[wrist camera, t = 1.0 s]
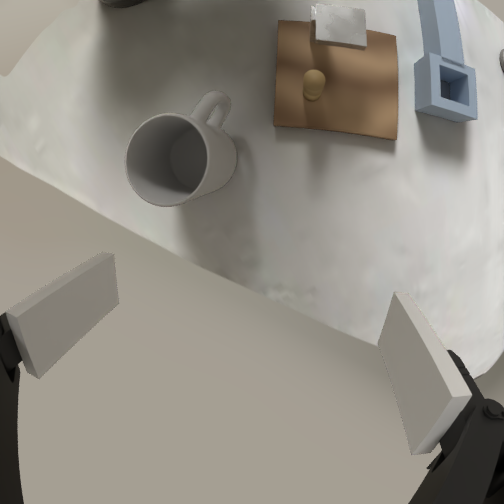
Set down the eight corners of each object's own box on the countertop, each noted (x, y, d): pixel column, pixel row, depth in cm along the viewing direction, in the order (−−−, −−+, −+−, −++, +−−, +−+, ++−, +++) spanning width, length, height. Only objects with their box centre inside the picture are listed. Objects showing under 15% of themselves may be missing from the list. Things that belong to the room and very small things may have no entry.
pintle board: (279, 25, 27) (274, -4, 20) (392, 40, 26) (411, 16, 19) (274, 126, 32) (268, 116, 25) (392, 140, 30) (416, 136, 23)
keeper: (309, 29, 26) (311, 0, 19) (352, 34, 25) (364, 7, 18) (309, 63, 27) (311, 39, 20) (353, 68, 27) (366, 46, 20)
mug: (214, 206, 36) (180, 226, 25) (159, 171, 35) (110, 179, 25) (267, 121, 32) (253, 104, 21) (207, 88, 31) (170, 63, 21)
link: (457, 122, 27) (477, 119, 23) (414, 110, 28) (431, 104, 24) (446, 7, 22) (461, -7, 17) (406, -7, 23) (417, -23, 18)
